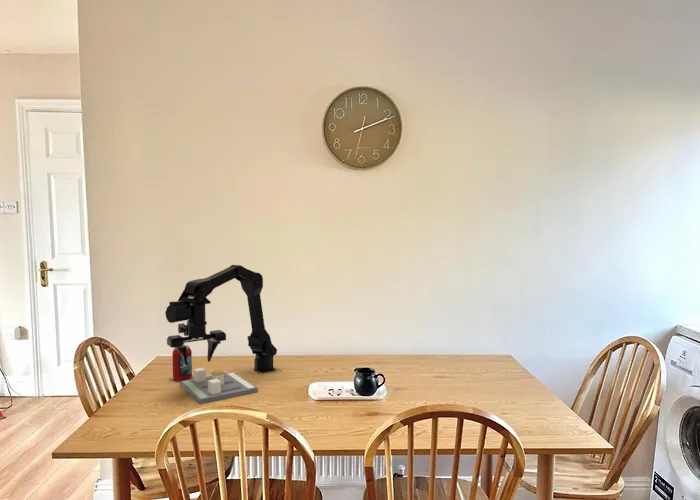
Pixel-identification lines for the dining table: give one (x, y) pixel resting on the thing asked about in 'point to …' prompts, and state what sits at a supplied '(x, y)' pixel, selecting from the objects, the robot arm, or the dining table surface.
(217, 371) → the block
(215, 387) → the block
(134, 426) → the dining table surface
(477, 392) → the dining table surface
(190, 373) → the beverage can
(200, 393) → the panel
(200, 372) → the block
